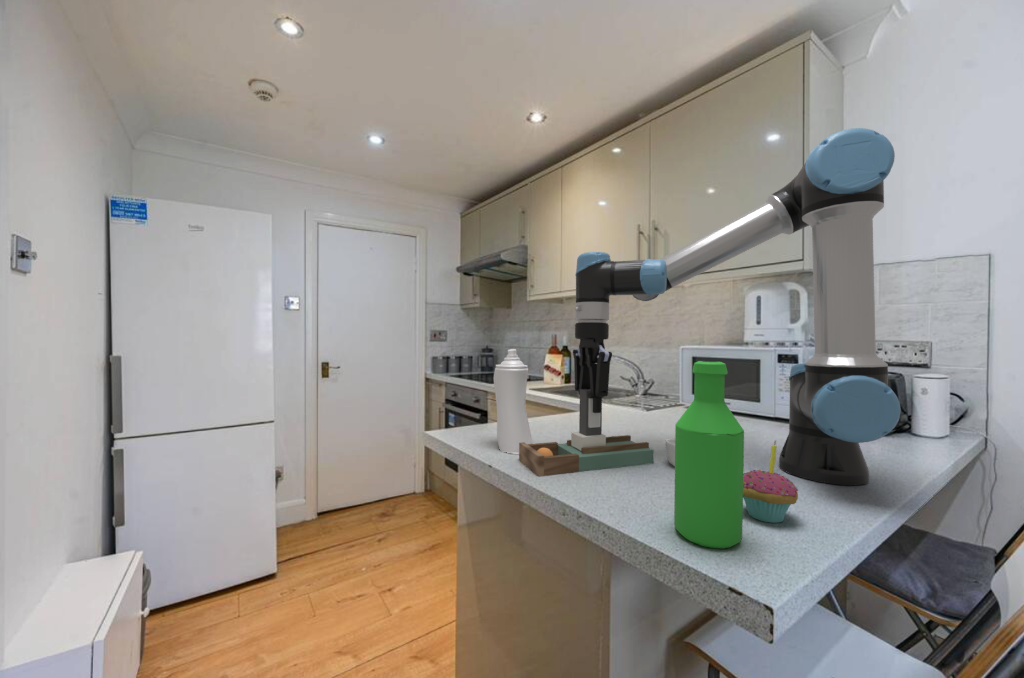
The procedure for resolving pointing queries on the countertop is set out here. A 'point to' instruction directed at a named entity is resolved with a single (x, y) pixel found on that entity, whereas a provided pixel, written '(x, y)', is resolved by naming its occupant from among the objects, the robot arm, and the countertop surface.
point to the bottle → (709, 464)
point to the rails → (613, 447)
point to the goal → (547, 459)
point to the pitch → (609, 457)
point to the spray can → (511, 403)
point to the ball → (545, 452)
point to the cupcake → (768, 493)
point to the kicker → (586, 434)
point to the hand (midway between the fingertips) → (589, 425)
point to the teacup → (670, 450)
